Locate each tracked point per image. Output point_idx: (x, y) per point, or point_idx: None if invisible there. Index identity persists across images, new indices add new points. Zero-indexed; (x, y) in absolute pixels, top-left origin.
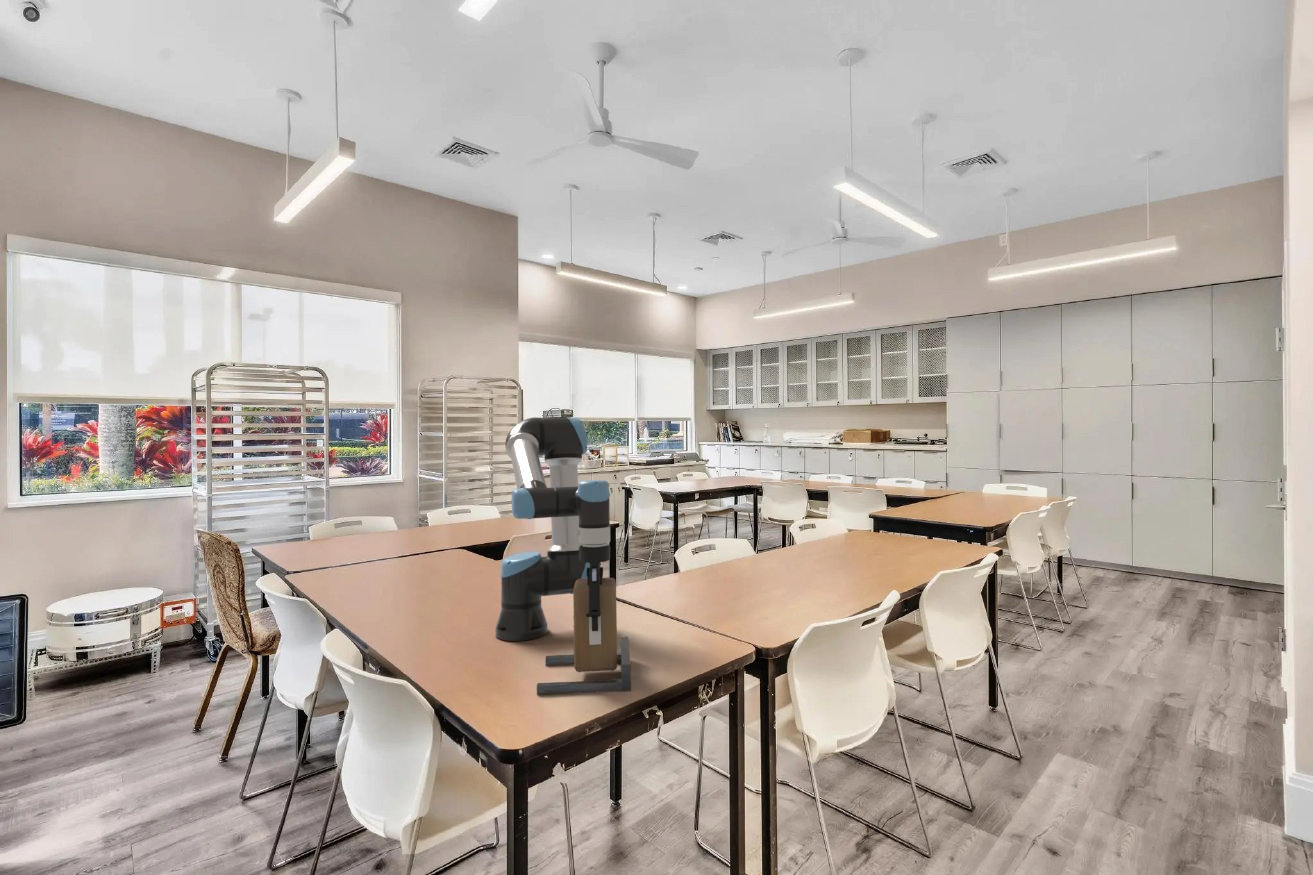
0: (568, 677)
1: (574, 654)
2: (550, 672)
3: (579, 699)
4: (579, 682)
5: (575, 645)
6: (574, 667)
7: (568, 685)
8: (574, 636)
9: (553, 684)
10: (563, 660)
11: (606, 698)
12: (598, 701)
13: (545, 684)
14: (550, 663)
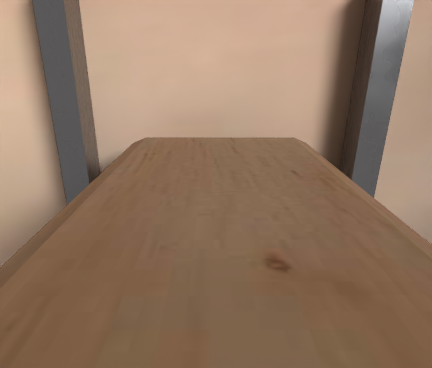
0: (217, 99)
1: (127, 154)
2: (283, 18)
3: (21, 148)
4: (73, 154)
5: (98, 176)
6: (145, 138)
7: (54, 113)
8: (88, 190)
9: (48, 50)
10: (363, 70)
11: (36, 227)
12: (12, 205)
13: (46, 12)
14: (369, 8)
